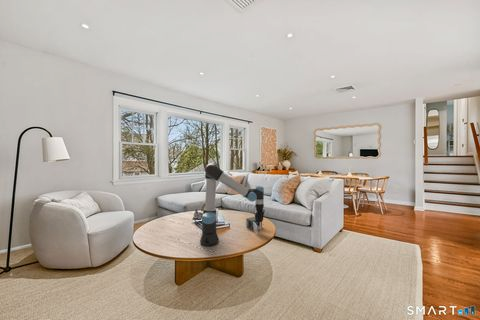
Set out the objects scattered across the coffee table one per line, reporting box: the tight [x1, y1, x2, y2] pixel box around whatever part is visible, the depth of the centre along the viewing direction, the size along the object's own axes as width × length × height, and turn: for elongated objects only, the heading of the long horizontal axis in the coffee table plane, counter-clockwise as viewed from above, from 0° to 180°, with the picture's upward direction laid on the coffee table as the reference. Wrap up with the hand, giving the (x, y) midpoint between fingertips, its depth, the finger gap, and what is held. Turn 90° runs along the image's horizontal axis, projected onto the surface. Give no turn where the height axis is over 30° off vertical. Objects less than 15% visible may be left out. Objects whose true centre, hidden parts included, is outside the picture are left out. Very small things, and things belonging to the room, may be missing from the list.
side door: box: [252, 221, 259, 235], centre depth 192 cm, size 12×2×8 cm, turn 13°
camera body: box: [245, 215, 263, 231], centre depth 205 cm, size 14×9×10 cm, turn 127°
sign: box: [192, 203, 205, 221], centre depth 224 cm, size 22×3×20 cm, turn 94°
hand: (259, 229), depth 192 cm, fingers closed
